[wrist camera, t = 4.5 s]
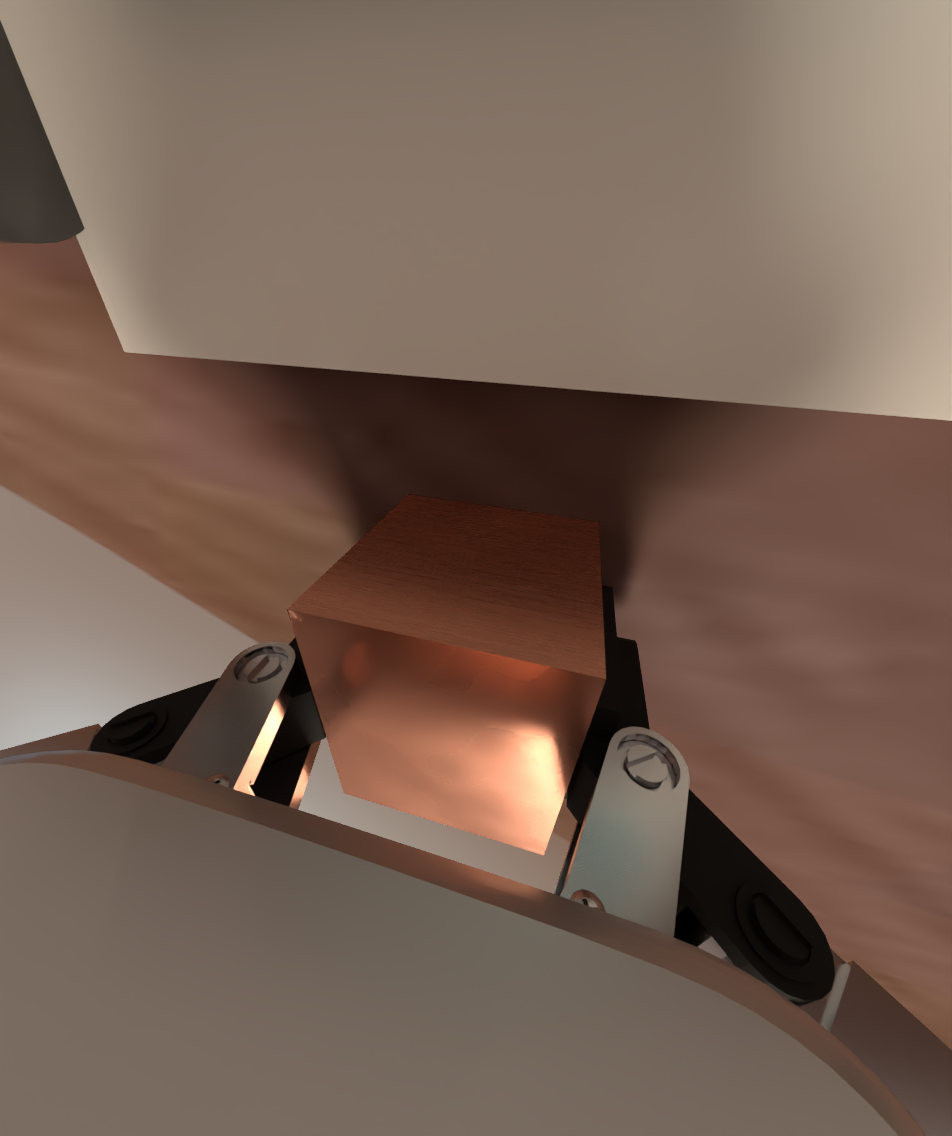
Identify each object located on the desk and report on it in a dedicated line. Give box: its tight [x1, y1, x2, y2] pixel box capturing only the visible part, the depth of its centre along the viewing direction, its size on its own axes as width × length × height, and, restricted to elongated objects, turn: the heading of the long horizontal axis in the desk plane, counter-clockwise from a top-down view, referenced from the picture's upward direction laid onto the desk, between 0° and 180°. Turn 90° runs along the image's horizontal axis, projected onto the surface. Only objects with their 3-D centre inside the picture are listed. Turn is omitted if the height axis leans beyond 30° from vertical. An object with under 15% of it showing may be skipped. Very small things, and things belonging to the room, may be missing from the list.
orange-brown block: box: [287, 494, 606, 855], centre depth 9 cm, size 5×6×5 cm
